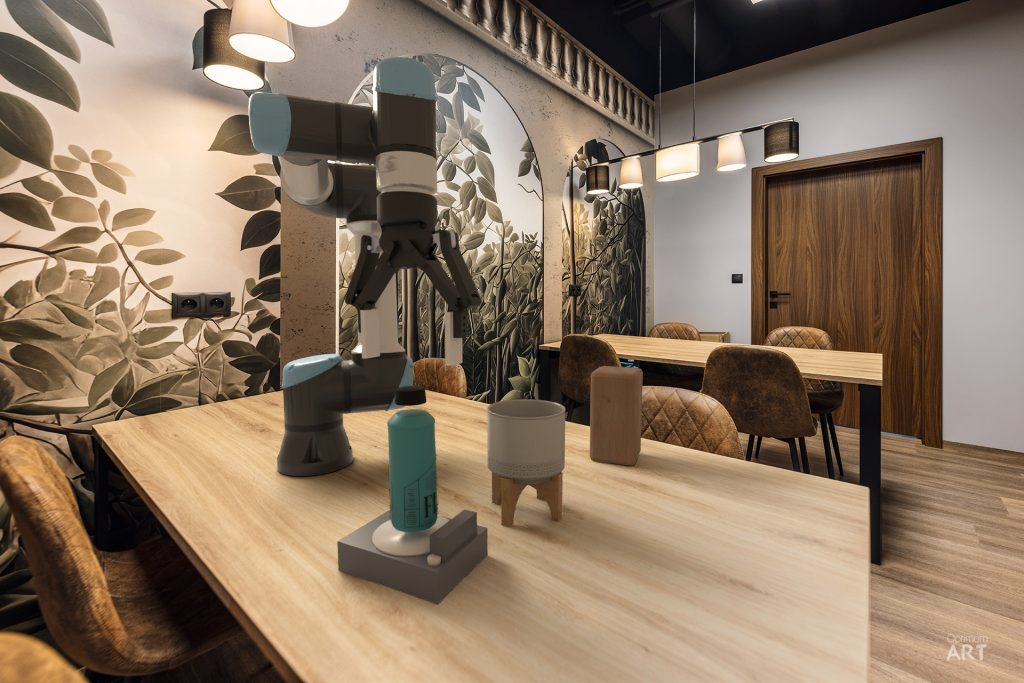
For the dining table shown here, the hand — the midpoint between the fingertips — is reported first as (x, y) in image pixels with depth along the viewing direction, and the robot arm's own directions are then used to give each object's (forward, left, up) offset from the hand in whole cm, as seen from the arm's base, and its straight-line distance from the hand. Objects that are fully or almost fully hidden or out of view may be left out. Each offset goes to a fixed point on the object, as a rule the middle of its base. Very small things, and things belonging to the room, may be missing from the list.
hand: (410, 360), depth 62 cm
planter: (+7, +21, -28) cm, 36 cm away
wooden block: (+14, +54, -28) cm, 62 cm away
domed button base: (0, 0, -28) cm, 28 cm away
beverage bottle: (0, 0, -24) cm, 24 cm away
